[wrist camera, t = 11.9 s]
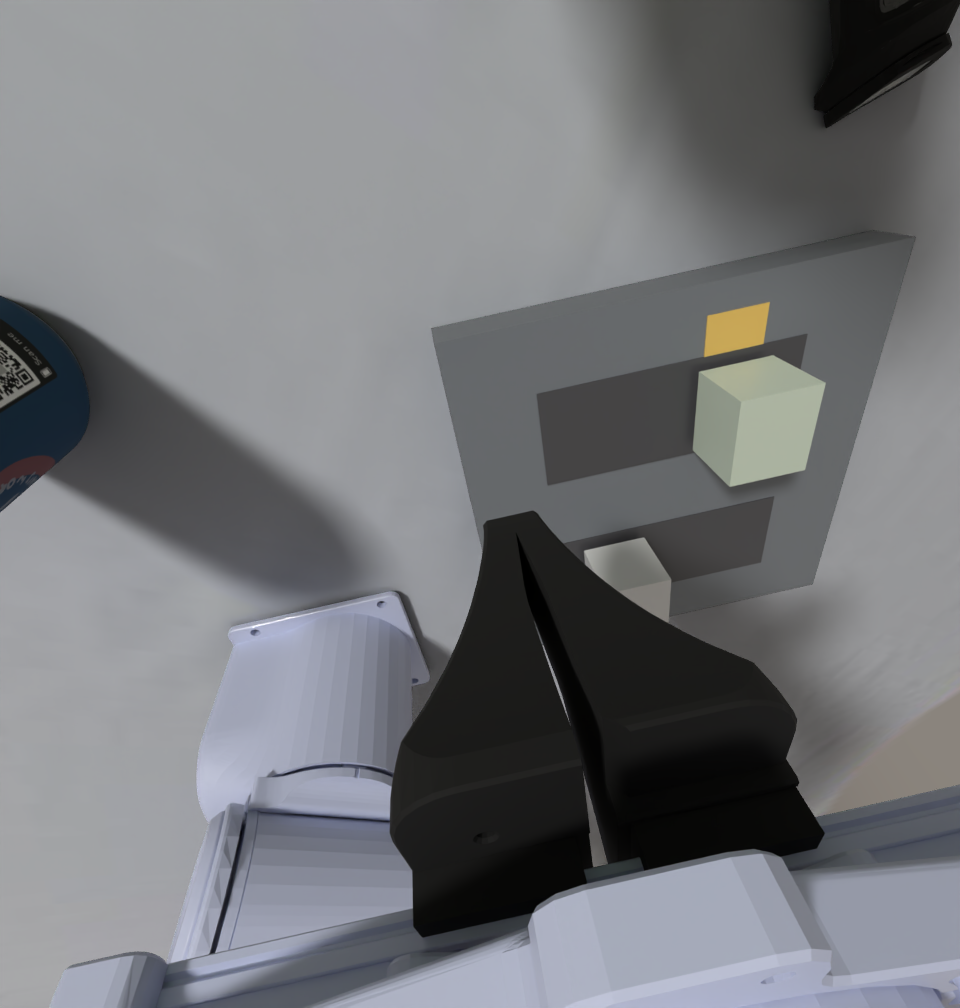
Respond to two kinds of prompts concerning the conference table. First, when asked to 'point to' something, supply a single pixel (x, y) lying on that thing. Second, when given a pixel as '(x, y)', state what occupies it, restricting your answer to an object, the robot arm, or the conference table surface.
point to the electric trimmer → (880, 49)
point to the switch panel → (672, 410)
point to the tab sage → (756, 419)
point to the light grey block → (633, 574)
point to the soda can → (36, 400)
